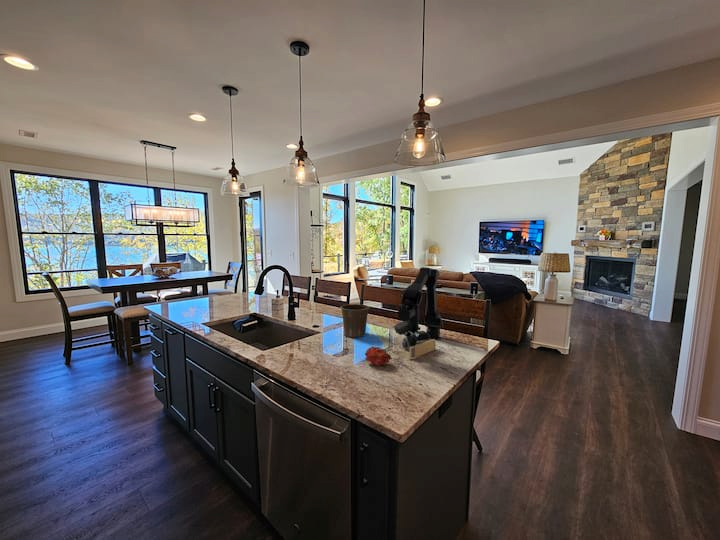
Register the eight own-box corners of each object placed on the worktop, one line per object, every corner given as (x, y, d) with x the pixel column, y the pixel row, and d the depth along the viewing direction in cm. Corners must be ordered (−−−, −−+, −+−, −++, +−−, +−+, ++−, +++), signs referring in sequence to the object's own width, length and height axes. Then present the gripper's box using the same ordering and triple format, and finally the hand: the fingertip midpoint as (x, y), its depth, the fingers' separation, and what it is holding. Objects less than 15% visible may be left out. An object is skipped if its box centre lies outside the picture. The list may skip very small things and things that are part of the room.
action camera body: (423, 344, 153) (423, 334, 152) (432, 349, 145) (433, 338, 145) (401, 348, 147) (401, 337, 147) (410, 353, 140) (410, 342, 139)
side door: (433, 349, 145) (434, 338, 145) (435, 349, 144) (436, 339, 144) (409, 358, 133) (409, 347, 133) (411, 359, 132) (411, 347, 132)
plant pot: (343, 329, 177) (343, 303, 176) (370, 331, 175) (370, 304, 174) (337, 338, 161) (337, 309, 160) (367, 339, 159) (367, 310, 158)
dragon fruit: (363, 365, 130) (389, 373, 126) (359, 360, 123) (386, 368, 119) (369, 346, 134) (394, 354, 130) (366, 340, 127) (392, 348, 123)
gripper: (386, 312, 139) (386, 344, 141) (408, 323, 122) (407, 359, 124) (406, 310, 144) (406, 341, 146) (430, 320, 127) (429, 355, 129)
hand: (411, 349), depth 136 cm, fingers closed
